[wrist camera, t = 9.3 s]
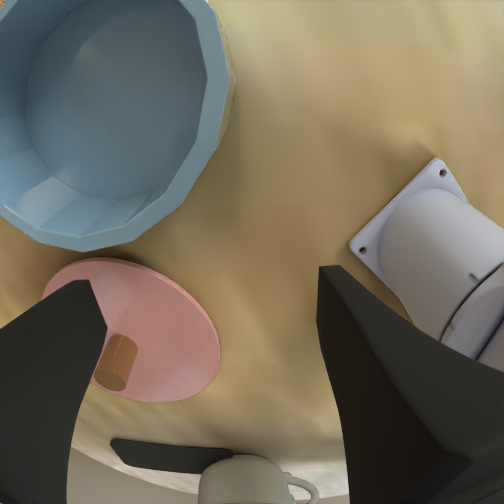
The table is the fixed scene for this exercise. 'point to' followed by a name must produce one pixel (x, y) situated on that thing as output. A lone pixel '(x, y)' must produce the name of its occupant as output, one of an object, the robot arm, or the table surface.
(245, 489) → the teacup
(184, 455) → the phone
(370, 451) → the robot arm
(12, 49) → the bowl
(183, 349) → the pink knobbed disc
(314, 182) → the table surface
